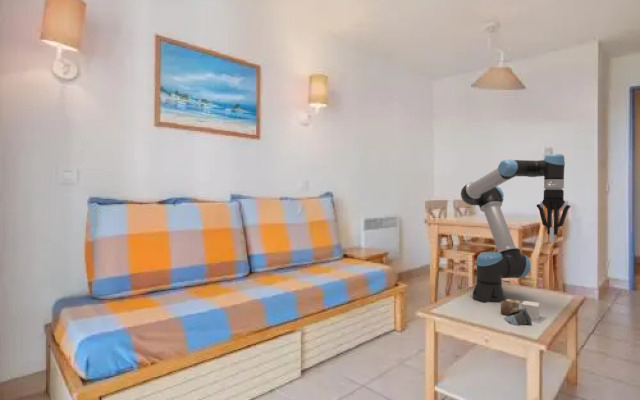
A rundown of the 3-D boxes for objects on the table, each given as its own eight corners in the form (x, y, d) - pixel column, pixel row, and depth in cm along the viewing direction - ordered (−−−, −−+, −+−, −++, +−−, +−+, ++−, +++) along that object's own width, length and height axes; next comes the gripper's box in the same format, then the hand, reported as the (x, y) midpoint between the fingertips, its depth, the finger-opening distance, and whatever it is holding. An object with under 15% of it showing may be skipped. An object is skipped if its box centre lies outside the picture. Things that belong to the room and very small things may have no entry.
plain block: (521, 317, 159) (521, 303, 158) (523, 314, 163) (523, 300, 163) (537, 320, 155) (538, 306, 155) (539, 316, 160) (539, 303, 160)
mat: (513, 318, 159) (513, 317, 159) (521, 313, 166) (521, 311, 166) (539, 324, 152) (539, 323, 152) (547, 319, 159) (547, 317, 159)
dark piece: (495, 319, 160) (505, 306, 151) (508, 313, 162) (519, 300, 153) (510, 339, 154) (522, 327, 145) (524, 333, 156) (536, 320, 147)
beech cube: (506, 312, 167) (506, 301, 167) (506, 309, 172) (507, 299, 171) (518, 314, 165) (519, 303, 165) (518, 311, 169) (519, 300, 169)
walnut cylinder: (499, 315, 163) (499, 302, 163) (502, 313, 166) (503, 300, 166) (509, 318, 160) (510, 304, 160) (513, 315, 163) (513, 302, 163)
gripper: (534, 189, 167) (533, 241, 167) (568, 189, 157) (567, 244, 158) (539, 189, 172) (538, 239, 173) (573, 189, 163) (571, 242, 163)
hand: (552, 241), depth 165 cm, fingers closed
